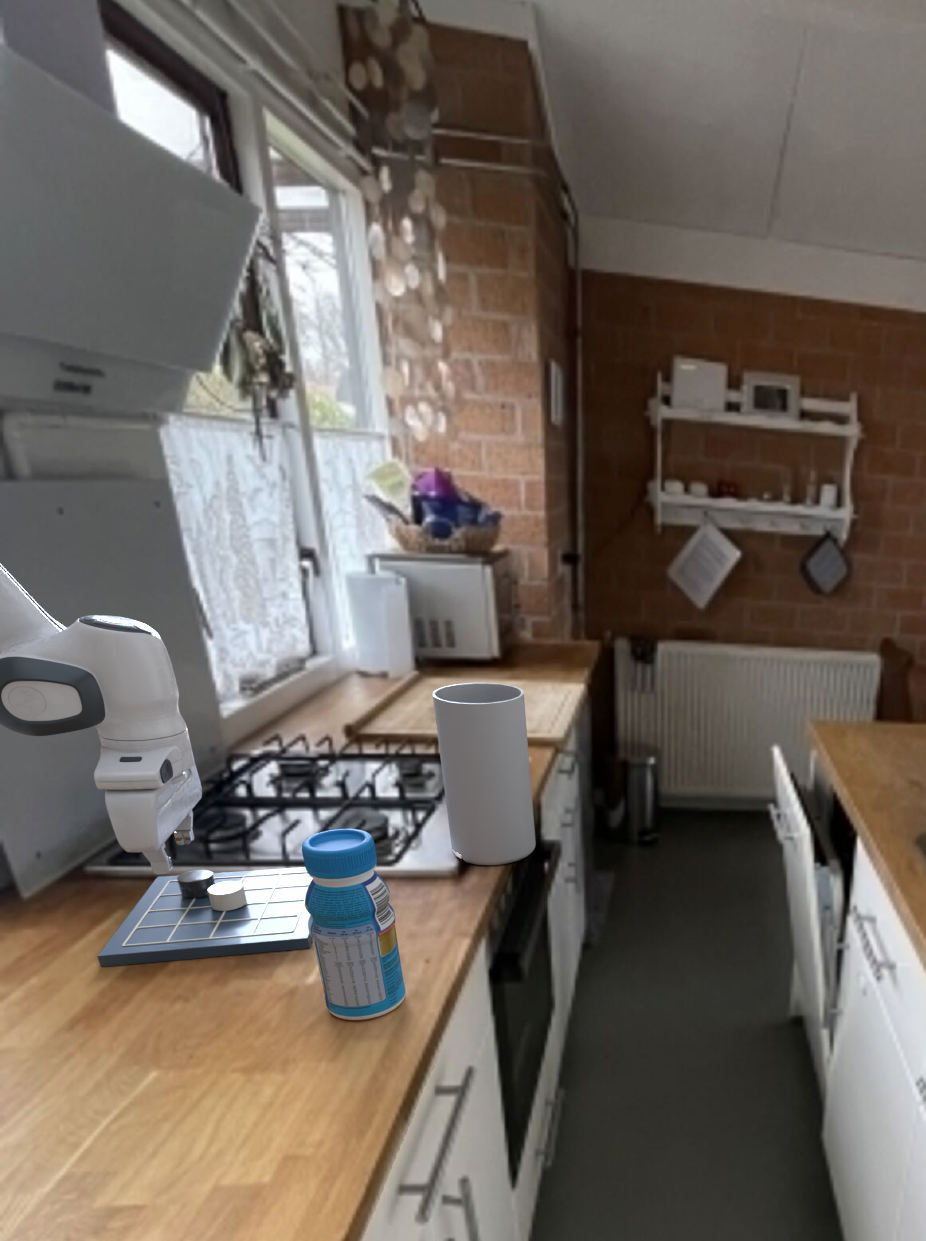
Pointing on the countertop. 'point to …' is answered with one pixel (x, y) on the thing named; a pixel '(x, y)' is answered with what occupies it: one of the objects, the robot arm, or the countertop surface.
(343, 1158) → the countertop surface
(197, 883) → the black stone
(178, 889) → the board
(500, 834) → the cylinder vase
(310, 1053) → the countertop surface
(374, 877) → the beverage bottle
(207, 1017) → the countertop surface
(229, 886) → the ivory stone
